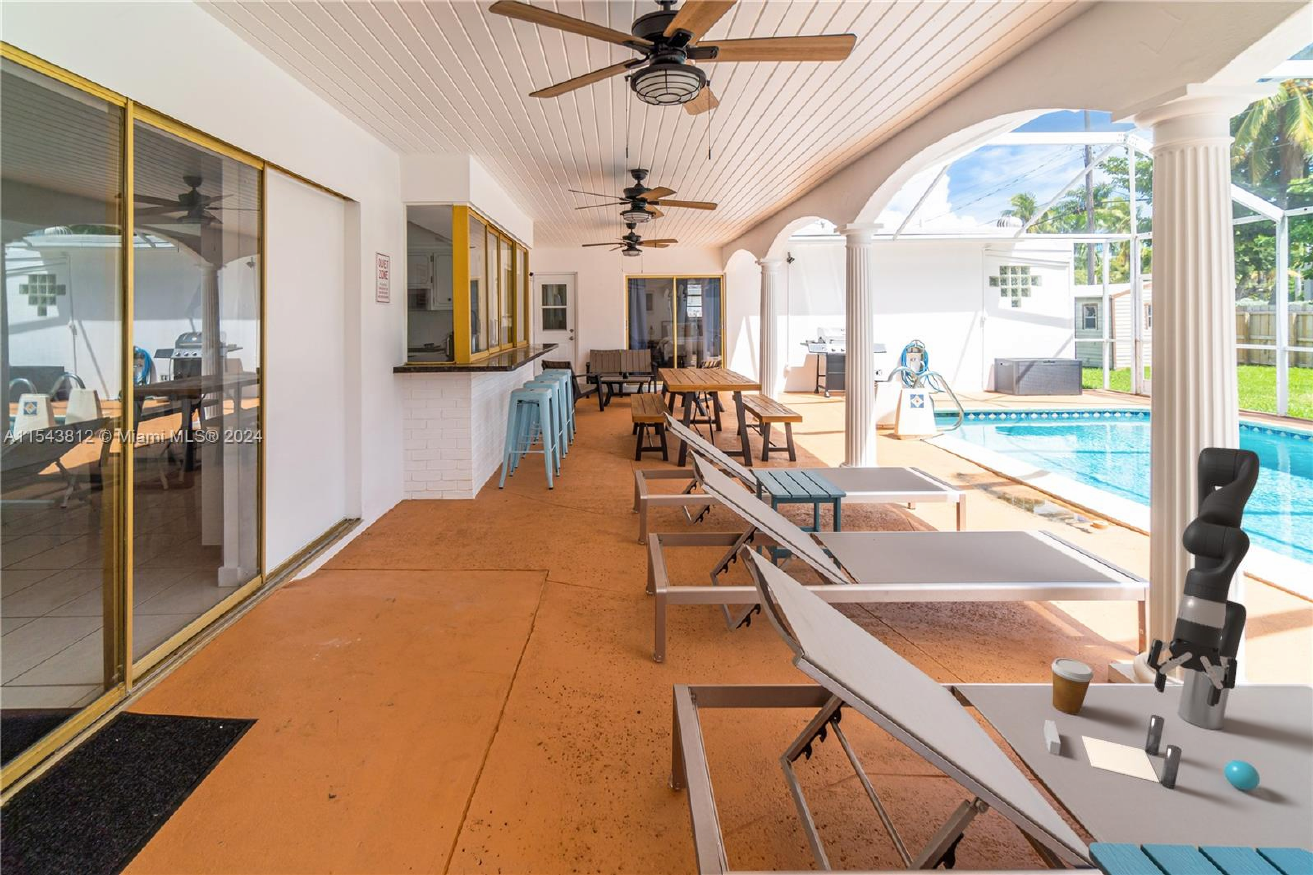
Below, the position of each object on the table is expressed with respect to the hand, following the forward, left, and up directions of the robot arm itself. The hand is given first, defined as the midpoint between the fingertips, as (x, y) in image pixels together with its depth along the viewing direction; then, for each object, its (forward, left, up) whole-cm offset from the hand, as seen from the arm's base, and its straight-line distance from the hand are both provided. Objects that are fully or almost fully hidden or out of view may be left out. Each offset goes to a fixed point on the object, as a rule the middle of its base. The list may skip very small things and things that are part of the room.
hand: (1184, 698), depth 142 cm
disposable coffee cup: (-36, -13, -25) cm, 46 cm away
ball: (-16, +18, -22) cm, 33 cm away
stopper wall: (-16, -19, -25) cm, 36 cm away
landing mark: (-16, -5, -25) cm, 30 cm away
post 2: (-10, +3, -25) cm, 27 cm away
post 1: (-23, +3, -25) cm, 34 cm away
